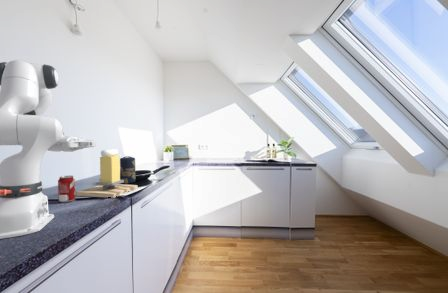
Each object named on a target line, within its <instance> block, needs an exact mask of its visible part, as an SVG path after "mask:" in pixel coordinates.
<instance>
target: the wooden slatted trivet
mask: <svg viewBox="0 0 448 293" xmlns="http://www.w3.org/2000/svg"><path fill="white" fill-rule="evenodd" d="M138 187H139V186H138V185H137V184H124V183H120V184H116V185H113V186H109V185H96V186H93V187H90V188H85V189H82V190H79V191H75V196H76V197H92V198H93V197H94V198H108V197H111V198H112V199H115V198H117V197H119V196H118V195H120V194H122V195H124V194H123V193H125V192H127V193H129V192H128V191H130V192H132V191H135V190H137V188H138ZM134 189H135V190H134ZM131 190H132V191H131ZM125 194H126V193H125ZM116 196H117V197H116ZM120 196H121V195H120ZM111 198H110V199H111Z"/></svg>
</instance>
